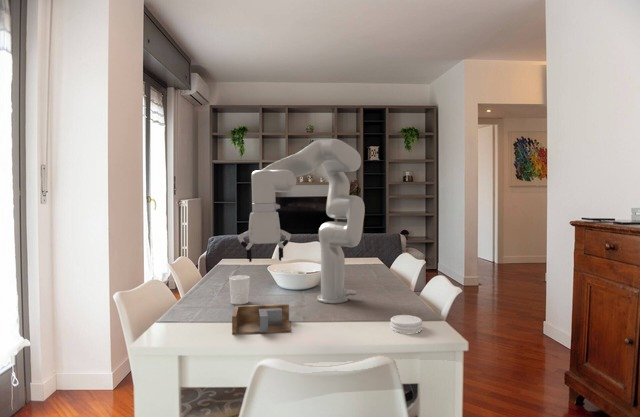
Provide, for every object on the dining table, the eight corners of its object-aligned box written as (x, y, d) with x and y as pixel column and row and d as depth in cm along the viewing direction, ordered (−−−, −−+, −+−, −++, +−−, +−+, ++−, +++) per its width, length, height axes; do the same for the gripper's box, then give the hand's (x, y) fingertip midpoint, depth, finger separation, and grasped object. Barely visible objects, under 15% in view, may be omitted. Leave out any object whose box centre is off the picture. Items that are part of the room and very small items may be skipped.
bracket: (258, 324, 139) (258, 309, 138) (281, 323, 140) (281, 308, 140) (260, 332, 131) (260, 316, 131) (284, 330, 132) (284, 315, 132)
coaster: (402, 336, 130) (402, 325, 130) (384, 327, 139) (384, 316, 139) (428, 332, 134) (428, 321, 134) (410, 323, 143) (410, 313, 143)
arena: (288, 320, 145) (288, 304, 145) (290, 332, 133) (290, 314, 133) (235, 322, 143) (234, 305, 142) (232, 334, 131) (232, 316, 131)
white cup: (245, 305, 163) (245, 279, 162) (226, 304, 164) (225, 278, 164) (252, 300, 171) (252, 275, 170) (234, 299, 172) (234, 274, 172)
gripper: (289, 207, 143) (290, 257, 144) (237, 208, 141) (238, 259, 142) (291, 208, 136) (292, 261, 137) (236, 210, 133) (237, 264, 134)
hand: (265, 260), depth 139 cm, fingers open, 9 cm apart
